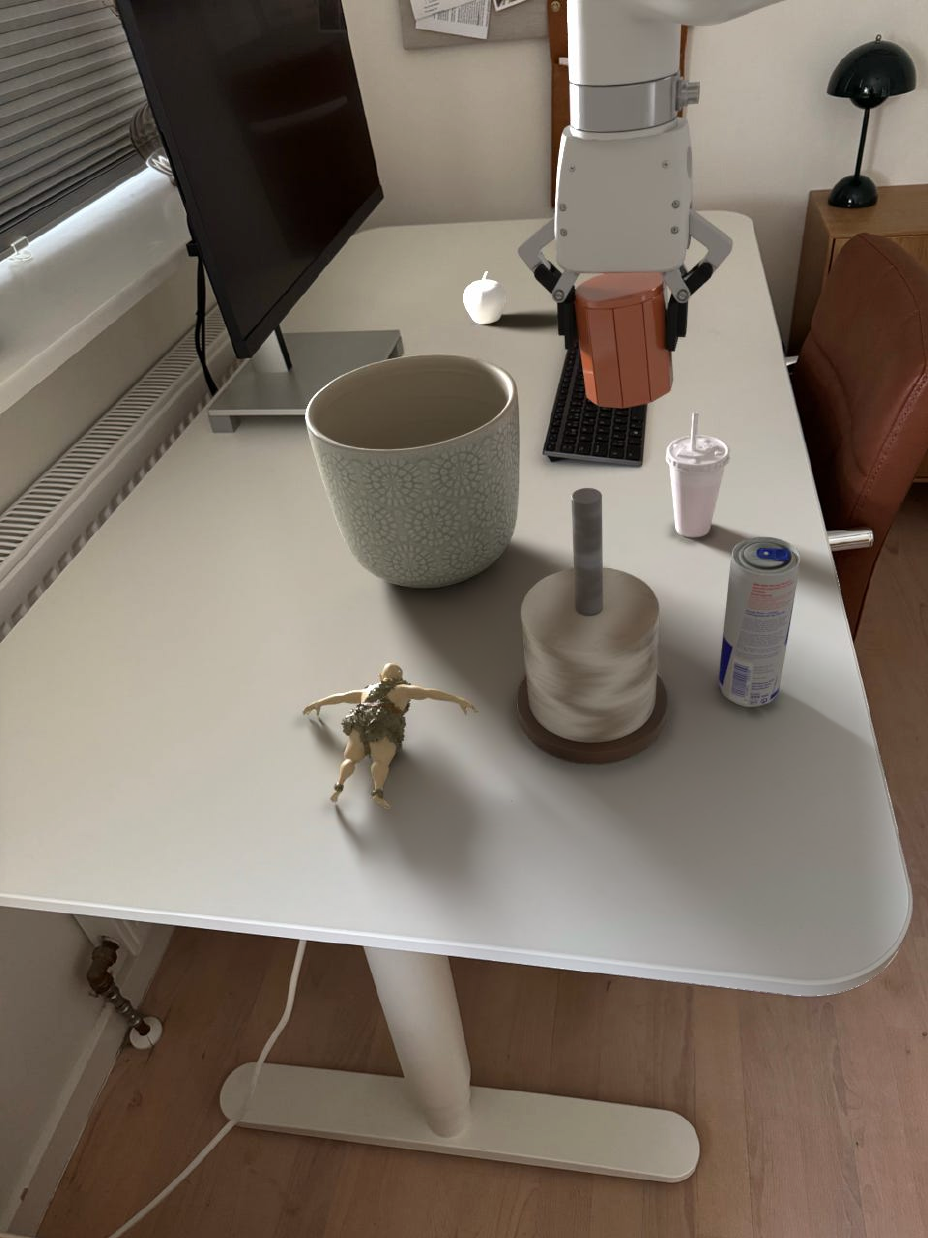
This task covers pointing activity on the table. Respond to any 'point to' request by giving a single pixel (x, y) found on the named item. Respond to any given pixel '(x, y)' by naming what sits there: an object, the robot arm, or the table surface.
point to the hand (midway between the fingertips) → (621, 342)
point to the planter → (421, 465)
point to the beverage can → (757, 619)
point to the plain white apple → (485, 300)
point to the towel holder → (591, 654)
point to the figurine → (378, 723)
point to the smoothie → (696, 479)
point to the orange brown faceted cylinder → (624, 338)
